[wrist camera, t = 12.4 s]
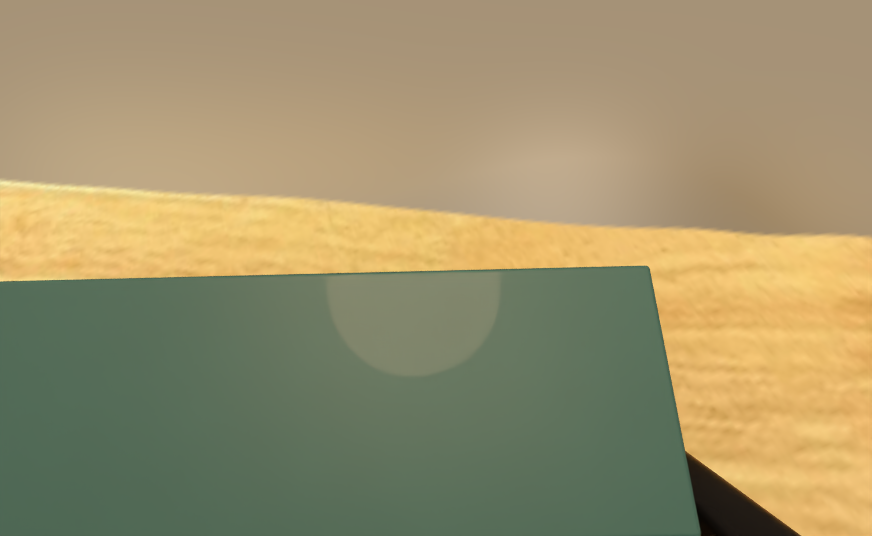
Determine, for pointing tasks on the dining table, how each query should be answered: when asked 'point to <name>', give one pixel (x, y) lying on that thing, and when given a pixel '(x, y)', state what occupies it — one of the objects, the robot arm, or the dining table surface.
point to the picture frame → (341, 406)
